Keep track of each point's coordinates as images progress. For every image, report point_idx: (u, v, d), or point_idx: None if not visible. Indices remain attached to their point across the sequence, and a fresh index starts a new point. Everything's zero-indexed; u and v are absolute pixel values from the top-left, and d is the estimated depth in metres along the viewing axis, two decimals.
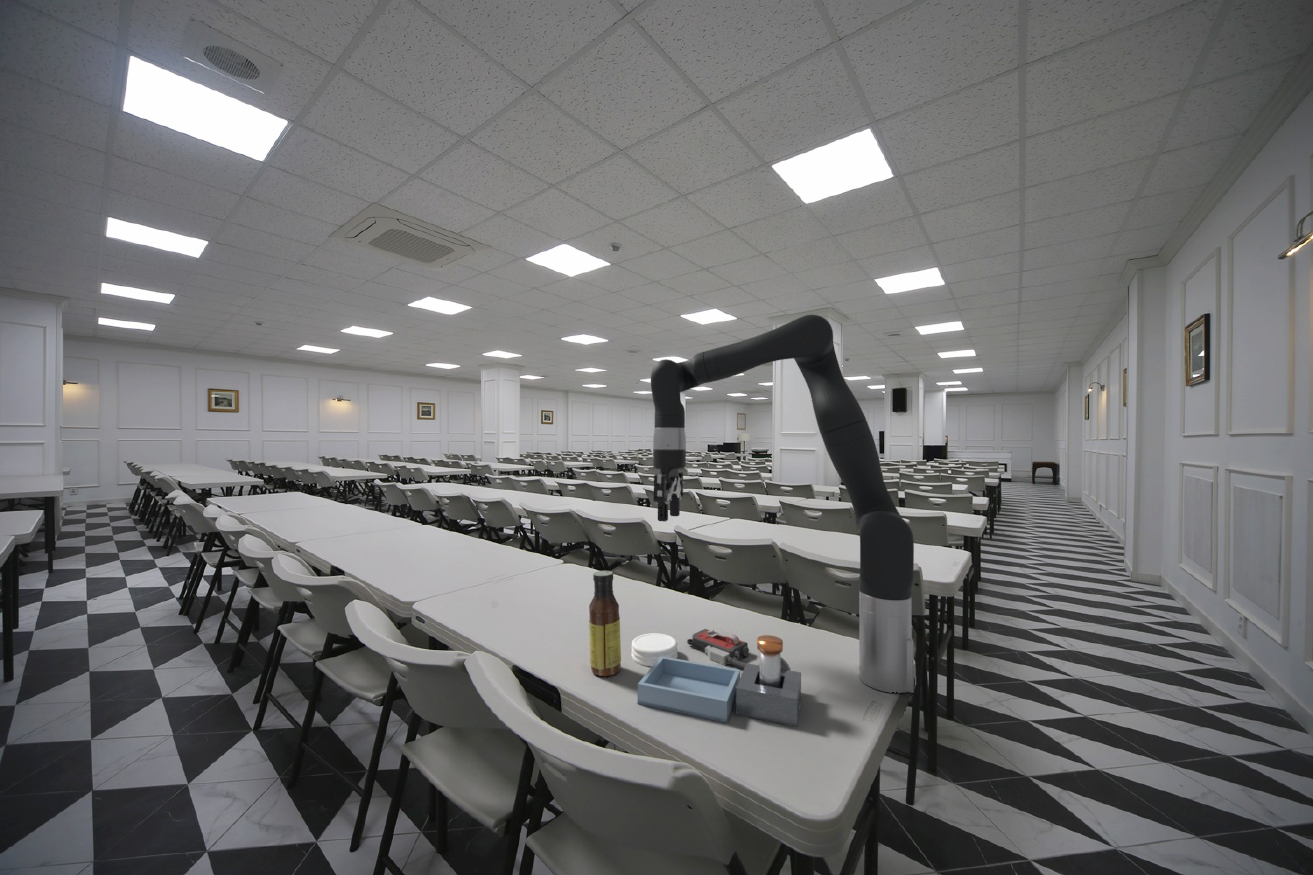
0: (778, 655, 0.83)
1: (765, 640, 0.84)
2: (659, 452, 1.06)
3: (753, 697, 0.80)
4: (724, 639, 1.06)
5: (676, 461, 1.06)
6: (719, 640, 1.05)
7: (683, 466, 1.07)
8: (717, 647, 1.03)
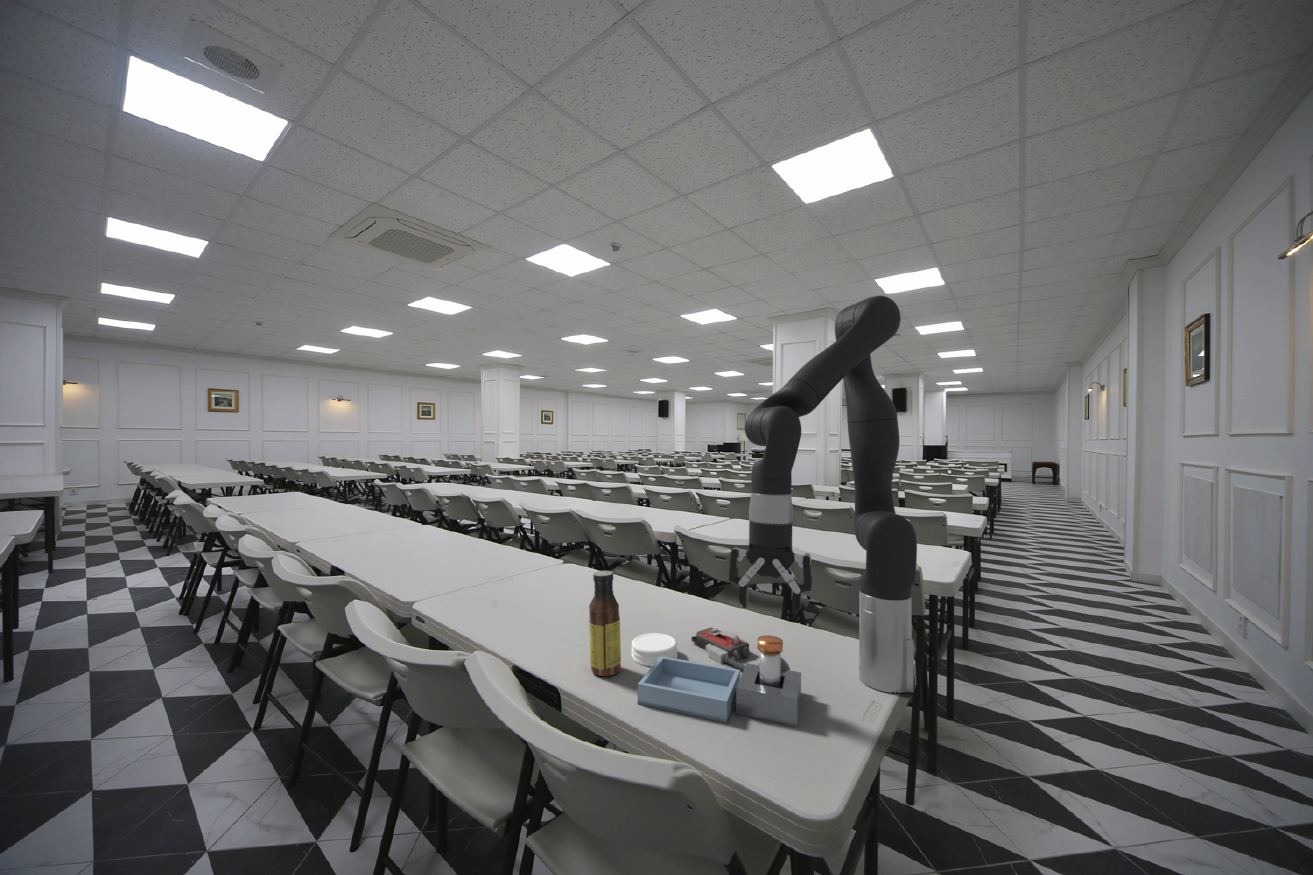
0: (778, 655, 0.83)
1: (765, 640, 0.84)
2: (790, 526, 0.82)
3: (753, 697, 0.80)
4: (726, 638, 1.06)
5: None
6: (721, 639, 1.06)
7: None
8: (717, 645, 1.04)
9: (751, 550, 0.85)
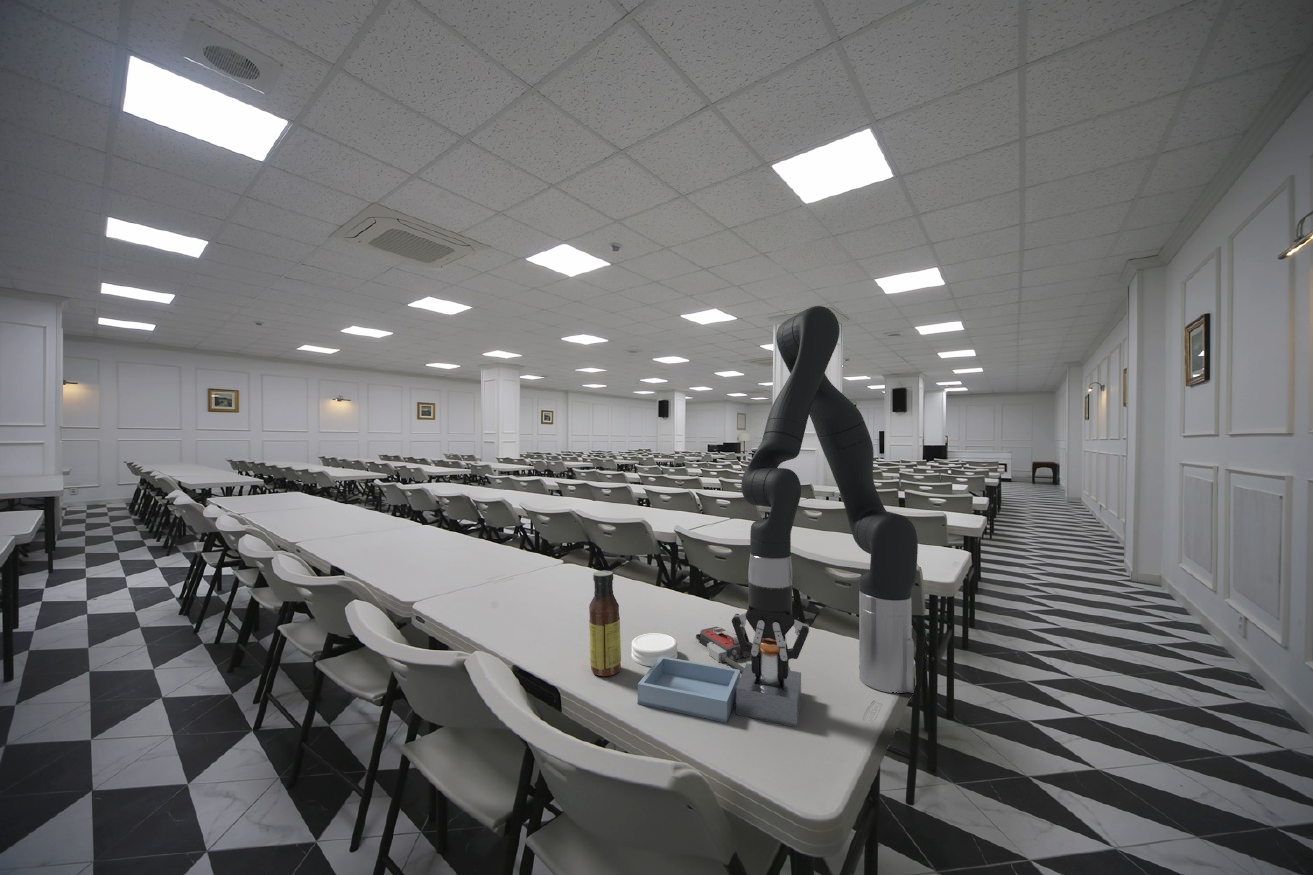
0: (778, 655, 0.83)
1: (765, 640, 0.84)
2: (790, 589, 0.82)
3: (753, 697, 0.80)
4: None
5: None
6: (722, 638, 1.06)
7: None
8: (717, 644, 1.05)
9: (749, 612, 0.84)
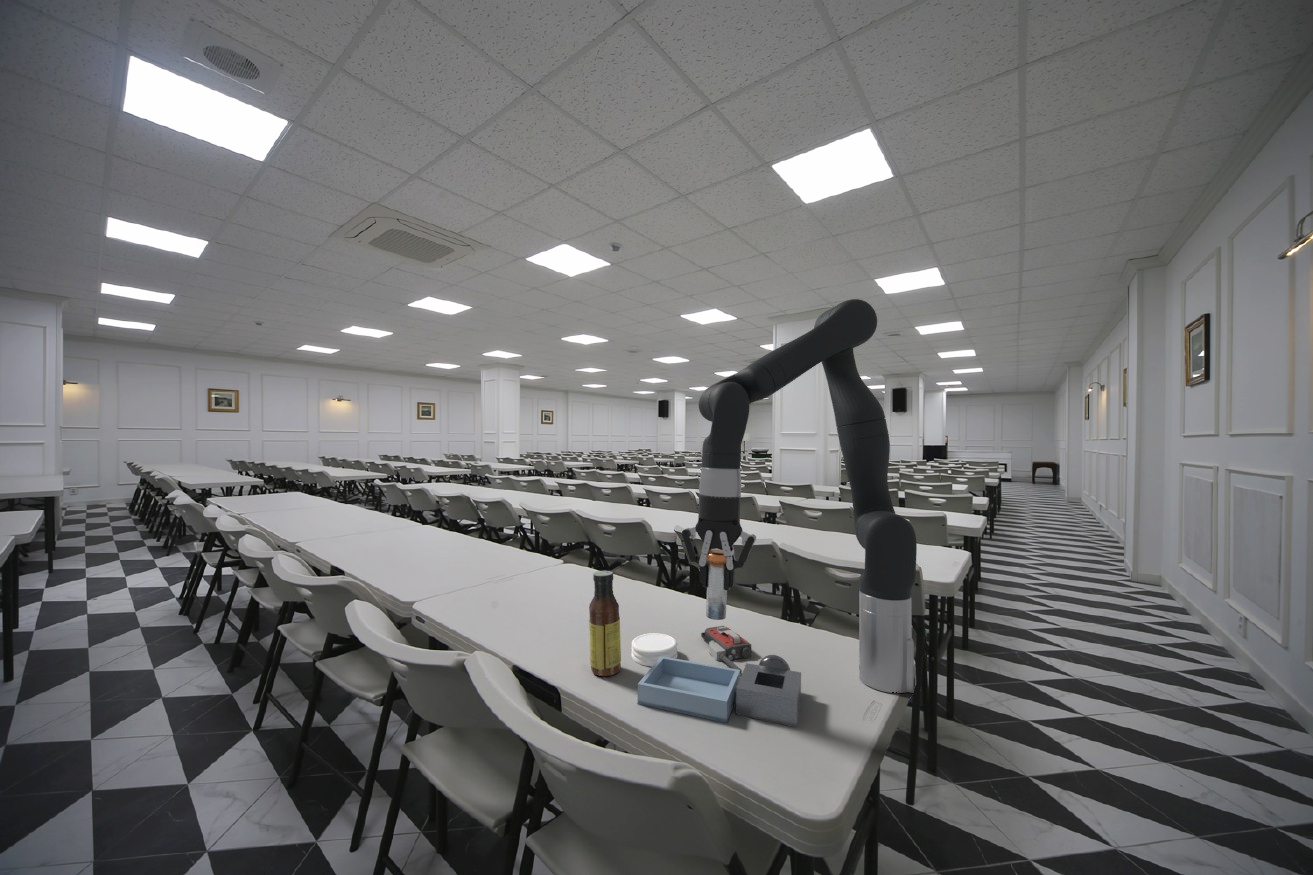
0: (725, 566, 0.85)
1: (713, 552, 0.86)
2: (738, 500, 0.84)
3: (753, 697, 0.80)
4: None
5: None
6: (724, 637, 1.07)
7: None
8: (718, 643, 1.05)
9: (698, 524, 0.86)
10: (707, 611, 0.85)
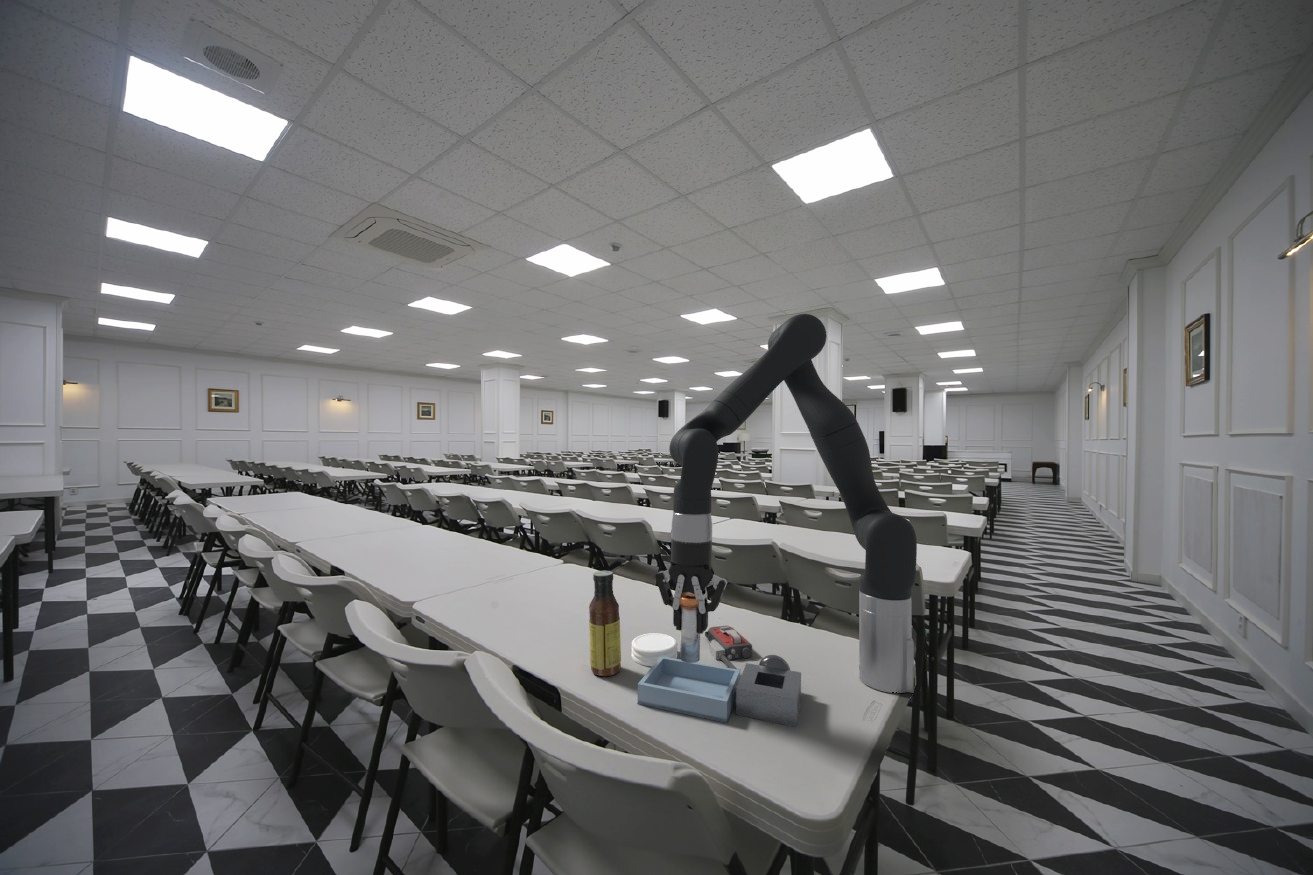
0: (697, 609, 0.86)
1: (686, 595, 0.87)
2: (709, 545, 0.85)
3: (753, 697, 0.80)
4: None
5: None
6: (726, 637, 1.07)
7: None
8: (719, 642, 1.06)
9: (671, 567, 0.88)
10: (681, 654, 0.87)
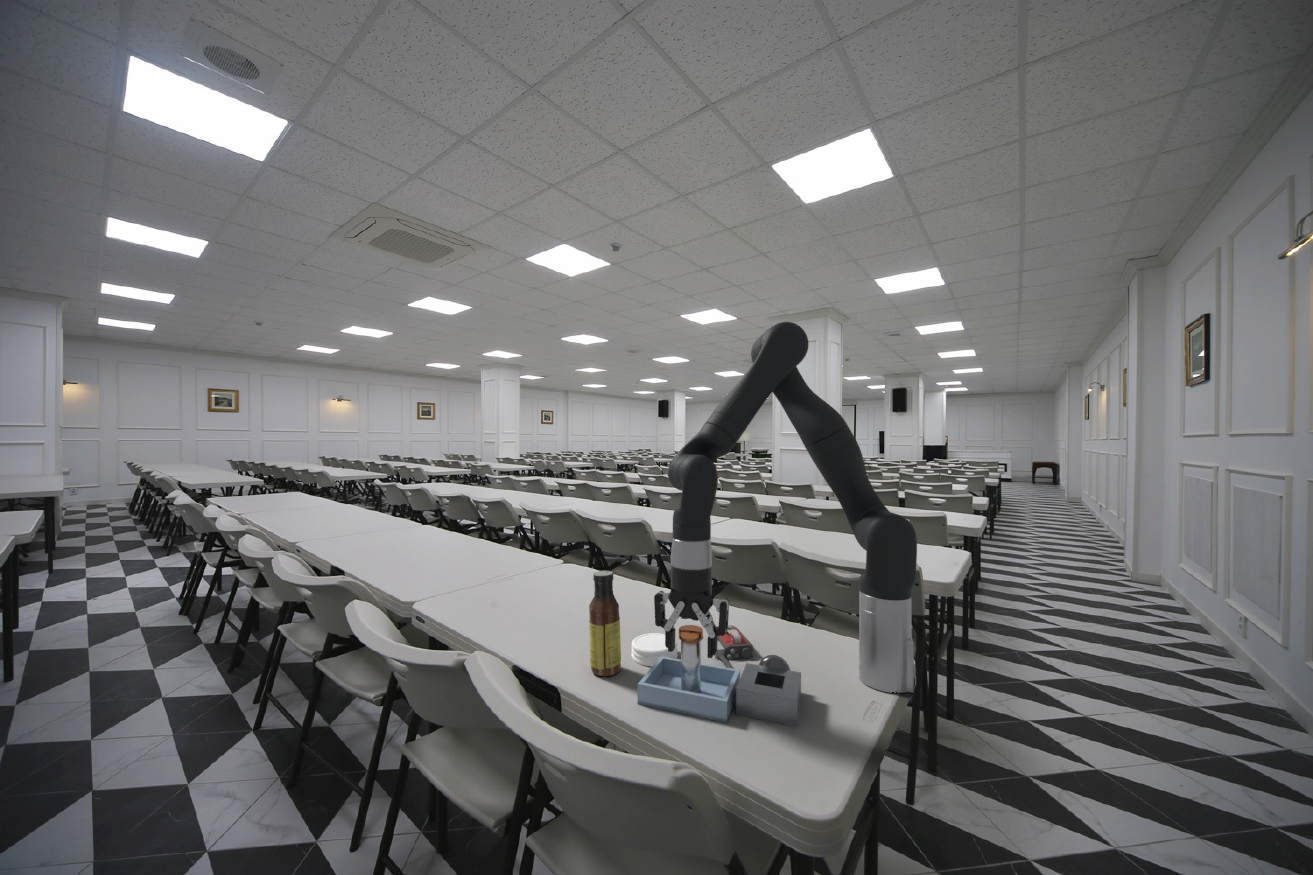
0: (697, 643, 0.86)
1: (686, 629, 0.87)
2: (709, 571, 0.85)
3: (753, 697, 0.80)
4: None
5: None
6: (728, 636, 1.07)
7: None
8: (720, 641, 1.06)
9: (672, 593, 0.87)
10: (682, 688, 0.86)
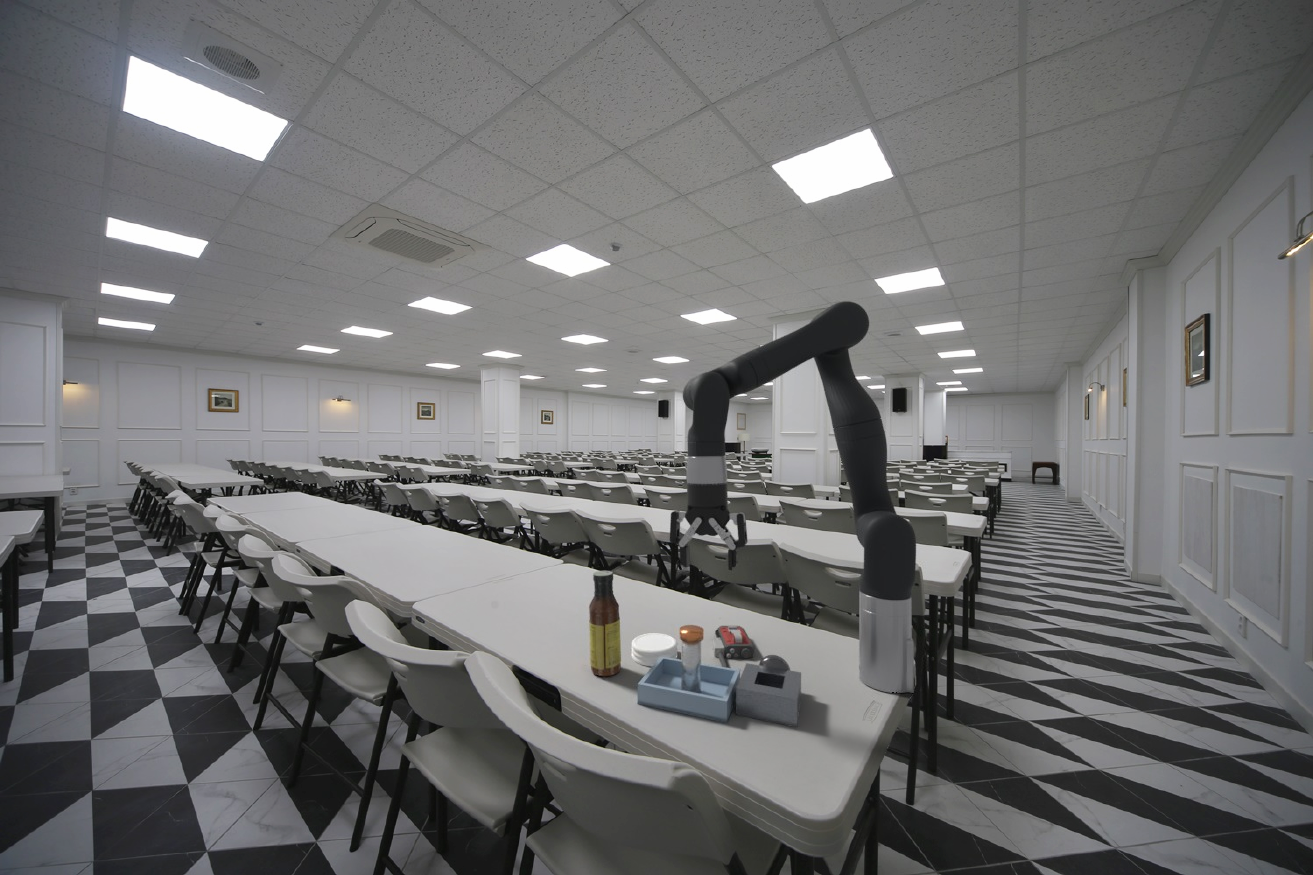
0: (698, 644, 0.86)
1: (686, 629, 0.87)
2: (724, 486, 0.86)
3: (753, 697, 0.80)
4: None
5: None
6: (730, 636, 1.08)
7: None
8: (722, 640, 1.07)
9: (689, 511, 0.88)
10: (682, 688, 0.86)
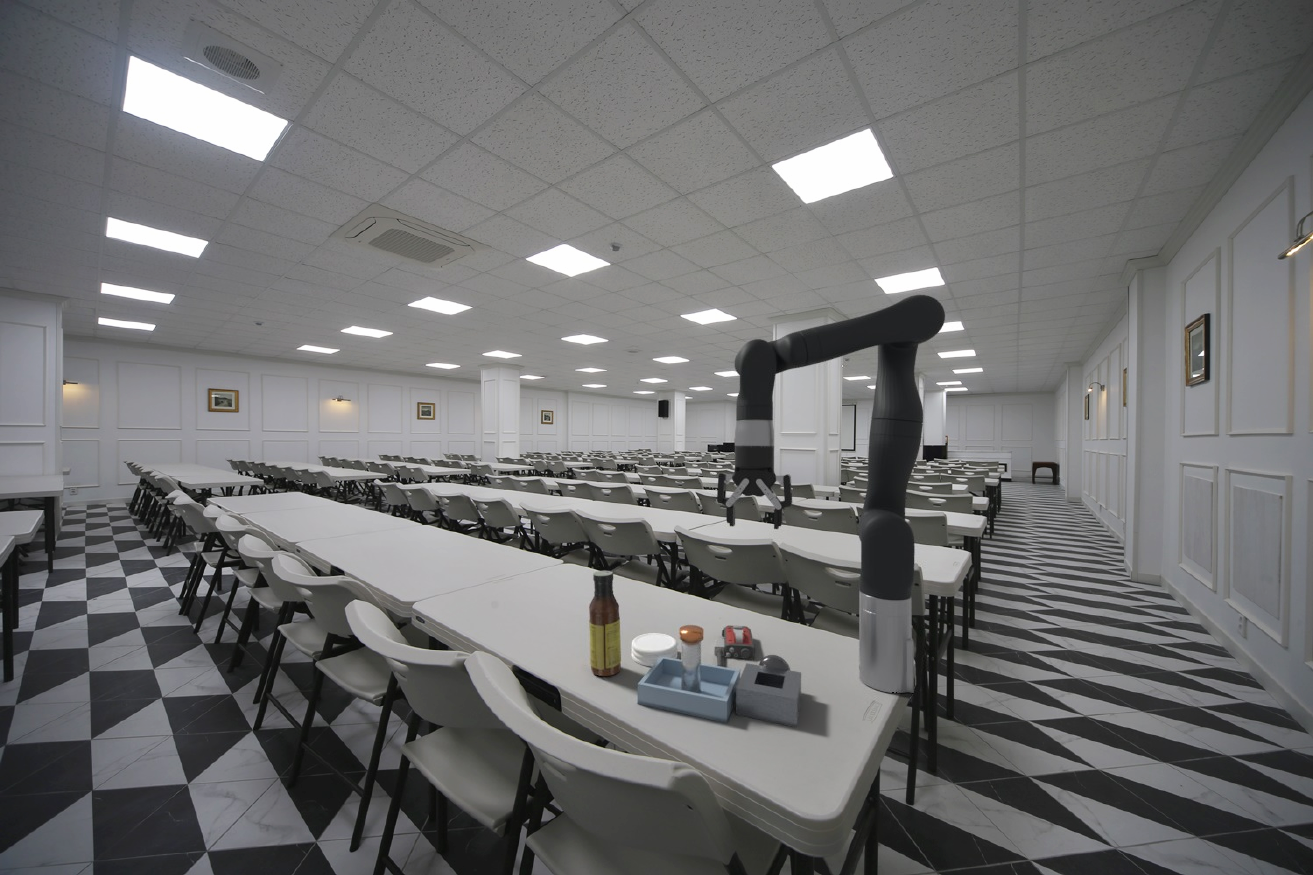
0: (698, 644, 0.86)
1: (686, 629, 0.87)
2: (772, 449, 0.90)
3: (753, 697, 0.80)
4: None
5: None
6: (733, 636, 1.08)
7: None
8: (724, 639, 1.07)
9: (737, 473, 0.93)
10: (682, 688, 0.86)
